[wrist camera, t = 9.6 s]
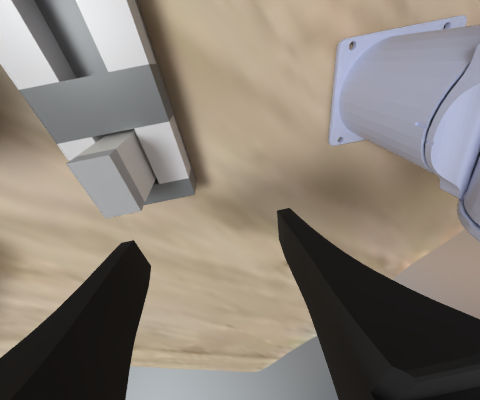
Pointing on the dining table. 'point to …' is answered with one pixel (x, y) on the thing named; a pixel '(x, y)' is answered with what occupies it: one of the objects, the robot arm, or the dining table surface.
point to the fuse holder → (95, 81)
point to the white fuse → (115, 173)
